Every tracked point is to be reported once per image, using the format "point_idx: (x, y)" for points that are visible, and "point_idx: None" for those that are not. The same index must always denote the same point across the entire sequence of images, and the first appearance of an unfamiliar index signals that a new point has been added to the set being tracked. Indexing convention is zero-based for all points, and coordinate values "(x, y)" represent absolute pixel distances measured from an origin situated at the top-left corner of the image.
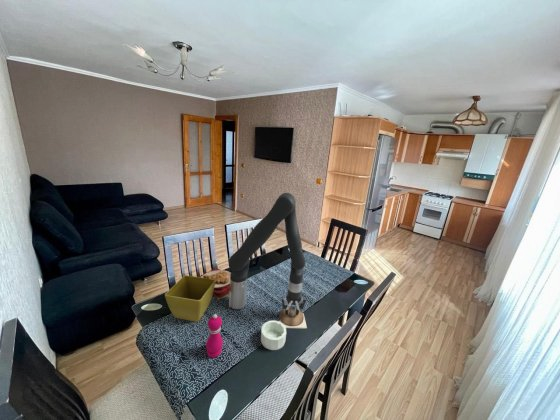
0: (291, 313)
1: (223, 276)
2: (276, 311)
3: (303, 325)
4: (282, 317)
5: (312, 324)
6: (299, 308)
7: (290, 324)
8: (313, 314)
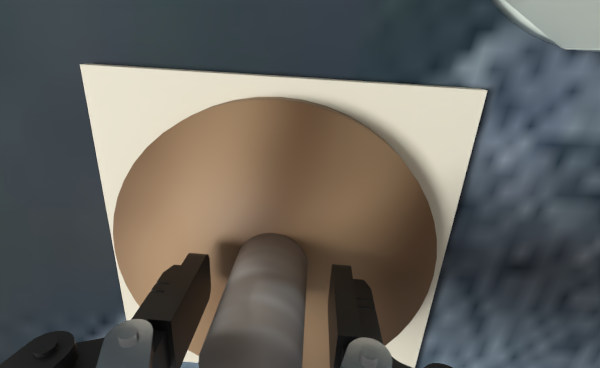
0: (277, 277)
1: None
2: (428, 337)
3: (128, 108)
4: (404, 241)
5: (17, 133)
6: (106, 352)
7: (316, 110)
8: (13, 277)
